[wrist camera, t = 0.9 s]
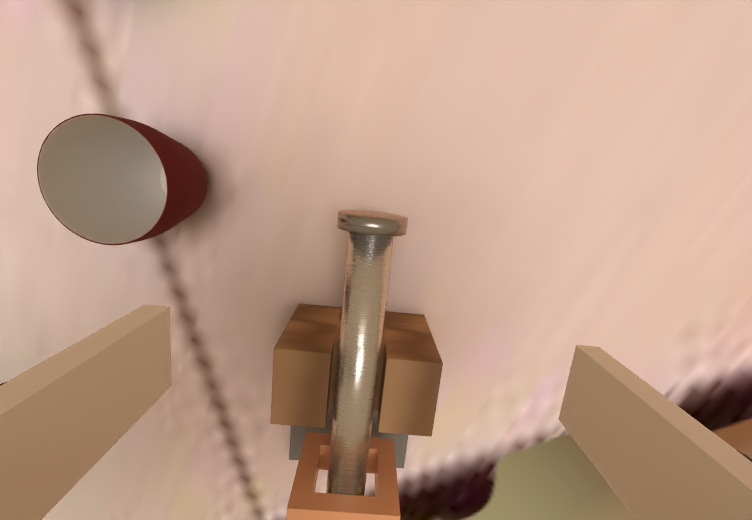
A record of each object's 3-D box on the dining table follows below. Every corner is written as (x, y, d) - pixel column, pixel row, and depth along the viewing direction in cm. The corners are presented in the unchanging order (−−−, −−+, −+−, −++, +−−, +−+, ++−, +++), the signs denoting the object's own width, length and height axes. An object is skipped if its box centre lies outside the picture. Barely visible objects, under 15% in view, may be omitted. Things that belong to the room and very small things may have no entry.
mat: (290, 456, 39) (289, 459, 39) (295, 361, 37) (295, 363, 36) (403, 465, 39) (403, 468, 39) (416, 371, 37) (416, 373, 37)
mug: (131, 243, 34) (35, 269, 24) (94, 154, 32) (-26, 144, 22) (241, 212, 33) (188, 227, 24) (209, 121, 32) (138, 96, 22)
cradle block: (295, 361, 37) (270, 423, 27) (299, 303, 35) (274, 348, 26) (416, 371, 37) (431, 436, 28) (423, 315, 36) (442, 363, 26)
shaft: (369, 510, 33) (369, 563, 28) (317, 506, 32) (308, 559, 28) (404, 214, 27) (411, 222, 22) (341, 208, 27) (335, 214, 22)
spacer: (304, 455, 34) (285, 537, 27) (306, 431, 34) (287, 508, 26) (390, 461, 35) (396, 544, 27) (393, 438, 34) (400, 516, 26)
